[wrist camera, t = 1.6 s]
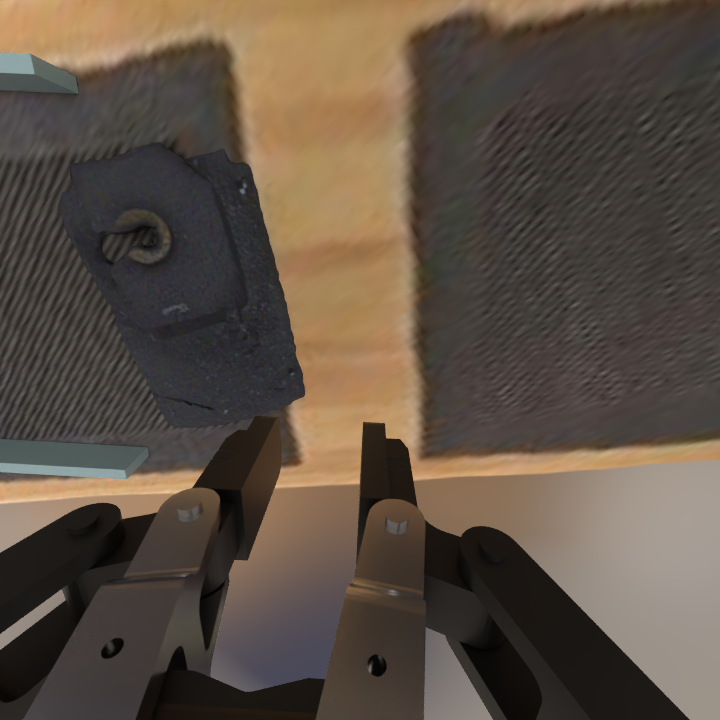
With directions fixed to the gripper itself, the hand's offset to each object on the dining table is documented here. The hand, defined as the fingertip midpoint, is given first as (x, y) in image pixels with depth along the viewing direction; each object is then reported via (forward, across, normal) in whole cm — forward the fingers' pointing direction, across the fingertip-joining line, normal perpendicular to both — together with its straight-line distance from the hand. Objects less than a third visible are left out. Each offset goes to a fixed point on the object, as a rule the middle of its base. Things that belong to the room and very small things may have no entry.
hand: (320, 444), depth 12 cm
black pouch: (+20, +13, 0) cm, 24 cm away
